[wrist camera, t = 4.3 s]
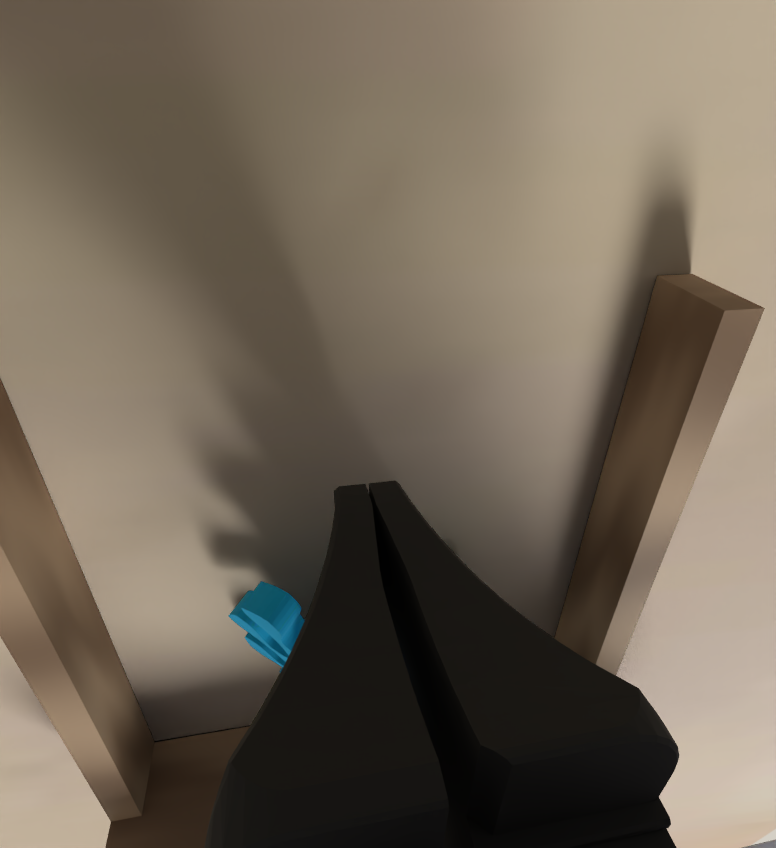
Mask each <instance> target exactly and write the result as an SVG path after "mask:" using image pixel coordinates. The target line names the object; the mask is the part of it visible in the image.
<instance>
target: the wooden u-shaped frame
mask: <svg viewBox="0 0 776 848" xmlns="http://www.w3.org/2000/svg"><path fill="white" fill-rule="evenodd" d="M764 309H765V308H763V307H761V306H759V305H757V304H755V303H752V302H750V301H748V300H746V299H744V298H742V297H740V296H738V295H736V294H733V293H731V292H729V291H727V290H725V289H723V288H721V287H719V286H716V285H714V284H712V283H710V282H708V281H706V280H704V279H702V278H700V277H697V276H695V275H693V274H682V275H662V276H657V279H656V282H655V286H654V289H653V293H652V296H651V300H650V303H649V307H648V310H647V314H646V317H645V321H644V325H643V328H642V332H641V335H640V339H639V342H638V346H637V349H636V353H635V356H634V360H633V363H632V367H631V370H630V374H629V377H628V381H627V384H626V388H625V391H624V395H623V398H622V402H621V406H620V409H619V413H618V416H617V420H616V423H615V427H614V430H613V434H612V437H611V441H610V444H609V448H608V451H607V455H606V458H605V462H604V465H603V469H602V472H601V476H600V479H599V483H598V487H597V490H596V494H595V497H594V501H593V504H592V508H591V511H590V515H589V518H588V522H587V525H586V529H585V532H584V536H583V539H582V543H581V546H580V550H579V553H578V557H577V561H576V564H575V568H574V571H573V575H572V578H571V582H570V585H569V589H568V592H567V596H566V599H565V603H564V606H563V610H562V613H561V617H560V620H559V624H558V627H557V631H556V634H555V638H554V639H556V640H557V641H559V642H560V643H562V644H563V645H565V646H566V647H568V648H570V649H571V650H573V651H574V652H576V653H577V654H579V655H581V656H582V657H584V658H585V659H587V660H589V661H590V662H592V663H594V664H596V665H597V666H599V667H601V668H603V669H605V670H606V671H608V672H610V673H612V674H614V675H615V676H616V673H617V671H618V669H619V666H620V664H621V661H622V659H623V656H624V654H625V651H626V649H627V646H628V644H629V641H630V639H631V636H632V634H633V632H634V629H635V627H636V624H637V622H638V619H639V617H640V614H641V612H642V609H643V607H644V604H645V602H646V600H647V597H648V595H649V592H650V590H651V587H652V585H653V582H654V580H655V577H656V575H657V572H658V570H659V567H660V565H661V563H662V560H663V558H664V555H665V553H666V550H667V548H668V545H669V543H670V540H671V538H672V535H673V533H674V530H675V528H676V526H677V523H678V521H679V518H680V516H681V513H682V511H683V508H684V506H685V503H686V501H687V498H688V496H689V493H690V491H691V489H692V486H693V484H694V481H695V479H696V476H697V474H698V471H699V469H700V466H701V464H702V461H703V459H704V457H705V454H706V452H707V449H708V447H709V444H710V442H711V439H712V437H713V434H714V432H715V429H716V427H717V424H718V422H719V420H720V417H721V415H722V412H723V410H724V407H725V405H726V402H727V400H728V397H729V395H730V392H731V390H732V387H733V385H734V383H735V380H736V378H737V375H738V373H739V370H740V368H741V365H742V363H743V360H744V358H745V355H746V353H747V351H748V348H749V346H750V343H751V341H752V338H753V336H754V333H755V331H756V328H757V326H758V323H759V321H760V318H761V316H762V314H763V311H764ZM0 636H1V638H2V640H3V642H4V643H5V645H6V647H7V648H8V650H9V652H10V653H11V655H12V657H13V658H14V660H15V662H16V663H17V665H18V667H19V668H20V670H21V672H22V673H23V675H24V677H25V678H26V680H27V682H28V683H29V685H30V687H31V688H32V690H33V692H34V693H35V695H36V697H37V698H38V700H39V702H40V703H41V705H42V707H43V708H44V710H45V712H46V713H47V715H48V717H49V718H50V720H51V722H52V724H53V725H54V727H55V729H56V730H57V732H58V734H59V735H60V737H61V739H62V740H63V742H64V744H65V745H66V747H67V749H68V750H69V752H70V754H71V755H72V757H73V759H74V760H75V762H76V764H77V765H78V767H79V769H80V770H81V772H82V774H83V775H84V777H85V779H86V780H87V782H88V784H89V785H90V787H91V789H92V790H93V792H94V794H95V795H96V797H97V799H98V800H99V802H100V804H101V806H102V807H103V809H104V811H105V812H106V814H107V816H108V817H109V819H110V821H111V824H110V829H109V834H108V838H107V843H106V848H205V841H206V836H207V830H208V825H209V821H210V817H211V813H212V809H213V806H214V802H215V799H216V796H217V793H218V790H219V787H220V784H221V781H222V778H223V775H224V772H225V769H226V766H227V764H228V760H229V759H230V757H231V755H232V754H233V752H234V751H235V749H236V747H237V746H238V744H239V743H240V741H241V740H242V738H243V736H244V735H245V733H246V732H247V730H248V728H249V727H250V726H248V727H242V728H237V729H231V730H225V731H219V732H213V733H207V734H201V735H195V736H189V737H184V738H178V739H172V740H166V741H160V742H154V740H153V738H152V735H151V733H150V731H149V728H148V726H147V723H146V721H145V719H144V716H143V714H142V712H141V709H140V707H139V705H138V702H137V700H136V698H135V695H134V693H133V690H132V688H131V686H130V683H129V681H128V679H127V676H126V674H125V672H124V669H123V667H122V665H121V662H120V660H119V657H118V655H117V653H116V650H115V648H114V646H113V643H112V641H111V639H110V636H109V634H108V631H107V629H106V627H105V624H104V622H103V620H102V617H101V615H100V613H99V610H98V608H97V606H96V603H95V601H94V598H93V596H92V594H91V591H90V589H89V587H88V584H87V582H86V580H85V577H84V575H83V573H82V570H81V568H80V565H79V563H78V561H77V558H76V556H75V554H74V551H73V549H72V547H71V544H70V542H69V540H68V537H67V535H66V532H65V530H64V528H63V525H62V523H61V521H60V518H59V516H58V514H57V511H56V509H55V507H54V504H53V502H52V499H51V497H50V495H49V492H48V490H47V488H46V485H45V483H44V481H43V478H42V476H41V474H40V471H39V469H38V466H37V464H36V462H35V459H34V457H33V455H32V452H31V450H30V448H29V445H28V443H27V441H26V438H25V436H24V433H23V431H22V429H21V426H20V424H19V422H18V419H17V417H16V415H15V412H14V410H13V407H12V405H11V403H10V400H9V398H8V396H7V393H6V391H5V389H4V386H3V384H2V382H1V379H0Z"/></svg>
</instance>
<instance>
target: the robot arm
mask: <svg viewBox="0 0 776 848" xmlns="http://www.w3.org/2000/svg"><path fill="white" fill-rule="evenodd" d="M334 501H335V513H334V521H333V528H332V533H331V538H330V542H329V547H328V552H327V556H326V560H325V563H324V566H323V570H322V573H321V576H320V580H319V583H318V586H317V589H316V592H315V595H314V598H313V601H312V603H311V606H310V609H309V611H308V614H307V616H306V619H305V621H304V624H303V626H302V628H301V630H300V633H299V635H298V637H297V639H296V642H295V644H294V646H293V648H292V651H291V653H290V655H289V657H288V659H287V661H286V663H285V665H284V667H283V669H282V671H281V673H280V674H279V676H278V678H277V680H276V682H275V684H274V685H273V687H272V689H271V691H270V693H269V695H268V696H267V698H266V700H265V702H264V704H263V706H262V707H261V709H260V711H259V712H258V714H257V716H256V717H255V719H254V721H253V722H252V724H251V725H250V727H249V728H248V730H247V732H246V733H245V735H244V736H243V738H242V740H241V741H240V743H239V744H238V746H237V747H236V749H235V751H234V752H233V754H232V755H231V757H230V759H229V760H228V764H227V766H226V769H225V772H224V775H223V778H222V781H221V784H220V787H219V790H218V793H217V796H216V799H215V802H214V806H213V809H212V813H211V817H210V821H209V825H208V830H207V836H206V841H205V848H676V846H675V844H674V842H673V840H672V839H671V837H670V835H669V833H668V831H667V829H666V828H669V826H670V825H671V822H670V817H669V816H668V814H667V812H666V810H665V808H664V806H663V804H662V802H661V801H660V799H659V795H660V793H661V792H662V790H663V789H664V787H665V785H666V784H667V782H668V780H669V779H670V777H671V775H672V774H673V772H674V770H675V767H676V765H677V762H678V758H679V752H678V746H677V745H676V743H675V741H674V740H673V738H672V736H671V735H670V733H669V731H668V730H667V728H666V726H665V725H664V723H663V722H662V720H661V719H660V717H659V716H658V714H657V713H656V711H655V710H654V708H653V707H652V706H651V705H650V703H649V702H648V701H647V699H646V698H645V697H644V695H643V694H642V693H641V691H640V690H639V688H637V687H635V686H633V685H632V684H630V683H628V682H626V681H624V680H623V679H621V678H619V677H617V676H615V675H614V674H612V673H610V672H608V671H606V670H605V669H603V668H601V667H599V666H597V665H596V664H594V663H592V662H590V661H589V660H587V659H585V658H584V657H582V656H581V655H579V654H577V653H576V652H574V651H573V650H571V649H570V648H568V647H566V646H565V645H563V644H562V643H560V642H559V641H557V640H556V639H554V638H553V637H552V636H550V635H549V634H547V633H546V632H545V631H543V630H542V629H541V628H539V627H538V626H536V625H535V624H534V623H532V622H531V621H529V620H528V619H527V618H525V617H524V616H523V615H521V614H520V613H519V612H518V611H516V610H515V609H514V608H513V607H511V606H510V605H509V604H508V603H506V602H505V601H504V600H503V599H502V598H500V597H499V596H498V595H497V594H496V593H495V592H494V591H492V590H491V589H490V588H489V587H488V586H487V585H486V584H485V583H484V582H482V581H481V580H480V579H479V578H478V577H477V576H476V575H475V574H474V573H473V572H472V571H471V570H470V569H469V568H468V567H467V566H466V565H465V564H464V563H463V562H462V561H461V560H460V559H459V558H458V557H457V556H456V555H455V554H454V553H453V551H452V550H451V549H450V548H449V547H448V546H447V545H446V544H445V543H444V541H443V540H442V539H441V538H440V537H439V536H438V534H437V533H436V532H435V531H434V530H433V529H432V528H431V526H430V525H429V524H428V523H427V521H426V520H425V519H424V518H423V516H422V515H421V514H420V512H419V511H418V510H417V509H416V507H415V506H414V505H413V503H412V502H411V500H410V499H409V498H408V496H407V495H406V493H405V492H404V490H403V489H402V487H401V486H400V484H399V483H397V482H396V481H388V482H379V483H369V493H368V490H367V488H366V485H365V484H360V485H350V486H341V487H338V488H337V489H336V490H335V491H334ZM743 848H776V840H772V841H768V842H764V843H759V844H755V845H751V846H747V847H743Z"/></svg>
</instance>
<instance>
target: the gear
mask: <svg viewBox="0 0 776 848" xmlns="http://www.w3.org/2000/svg"><path fill="white" fill-rule="evenodd" d="M300 612H301V606H300V605H299V603H298V602H297V601H296V600H295V599H294V598H293V597H292V596H291V595H290V594H289V593H287V592H285V591H284V590H282V589H280V588H278V587H276V586H273V585H271V584H268V583H265V582H262V581H261V582H260V584H259V585H258V586H257V587H256V589H255V590H254V591H248V592H247V593H246V594H245V596H244V597H243V598H242V599H241V601H240V602H239V603H238V605H237V606H236V607H235V608H234V610H233V611H232V612H231V613H230V615H229V617H230V618H231V619H232V620H233V621H234V622H235V623H237V624H238V625H239V626H240V627H242V628H243V629H244V630H246V631H247V632H249V633H248V634H247V635H246V637H245V639H246V640H247V642H248V643H249V644H250V646H251V647H253V648H254V649H255V650H256V651H258V652H259V653H261V654H262V655H264V656H265V657H267V658H268V659H270V660H272V661H273V662H275V663H277V664H278V665H280V666H281V667H282V669H283V667H284V665H285V663H286V661H287V659H288V657H289V655H290V653H291V651H292V648H293V646H294V644H295V642H296V639H297V637H298V635H299V633H300V630H301V628H302V626H303V624H304V621H305V620H304V619H303V617H302V616H301V614H300ZM282 669H281V670H280V671H279V672H280V673H281V671H282Z"/></svg>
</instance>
